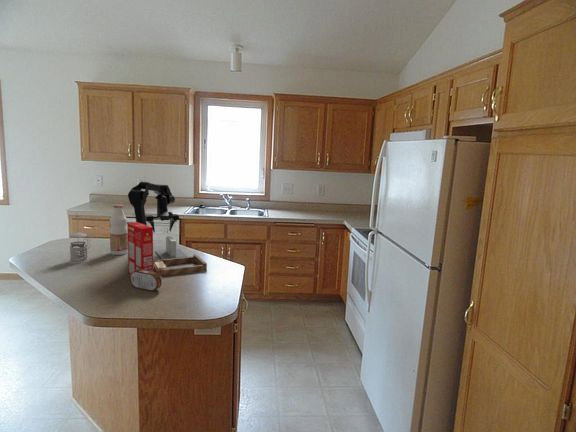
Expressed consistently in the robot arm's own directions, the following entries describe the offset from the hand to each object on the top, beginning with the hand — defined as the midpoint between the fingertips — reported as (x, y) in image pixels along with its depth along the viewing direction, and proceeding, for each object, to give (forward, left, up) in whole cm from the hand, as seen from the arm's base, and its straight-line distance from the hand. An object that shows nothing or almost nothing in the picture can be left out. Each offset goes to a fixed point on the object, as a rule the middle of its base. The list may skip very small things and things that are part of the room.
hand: (162, 232), depth 223 cm
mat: (+3, -9, -12) cm, 15 cm away
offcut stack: (-9, -35, -12) cm, 38 cm away
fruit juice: (-23, +5, -12) cm, 27 cm away
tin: (-20, -58, -12) cm, 63 cm away
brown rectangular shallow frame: (+1, -35, -12) cm, 37 cm away
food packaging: (-19, -40, -12) cm, 46 cm away
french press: (-43, -3, -12) cm, 45 cm away
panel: (+3, -9, -11) cm, 15 cm away
